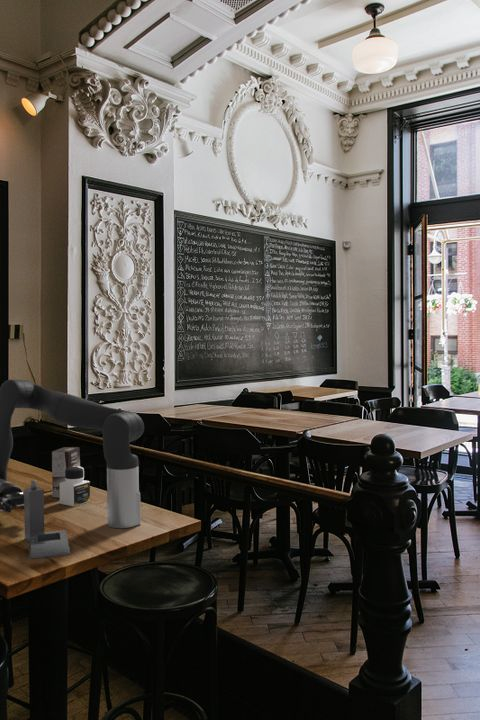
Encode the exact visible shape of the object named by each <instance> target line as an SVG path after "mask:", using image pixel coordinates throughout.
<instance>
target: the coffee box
mask: <svg viewBox="0 0 480 720" xmlns="http://www.w3.org/2000/svg"><path fill="white" fill-rule="evenodd" d="M80 451H81V449H80V447H78V446H75V447H74V446H72V447H71V446H70V447H68V446H65V447H61V448H58V449H55V450H53V451H51V469H52V471H51V474H52V476H51V479H52V489H51V490H52V493H51V494H52V495H51V497H52V498H60V483H61V482H65V481H66V480H65V470H66V469H67V468H69V467H74V466H79V467H81V459H80V458H81V457H80V456H81V454H80Z"/></svg>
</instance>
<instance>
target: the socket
mask: <svg viewBox="0 0 480 720" xmlns="http://www.w3.org/2000/svg"><path fill="white" fill-rule="evenodd" d="M68 539H69V538H68V534H67V530H66V529H64V530H63V529H62V530H55V531H54V530H53V531H45V532H42V533H33V534H31V543H29V544H28V559H29V560H33V559H41V558H50V557H51V558H52V557H58V556H65V555H66V556H68V555H71V549H70V544H69V540H68Z"/></svg>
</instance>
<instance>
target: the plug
mask: <svg viewBox="0 0 480 720" xmlns="http://www.w3.org/2000/svg"><path fill="white" fill-rule="evenodd" d="M23 493H24V506H23V509H24V511H23V512H24V513H23V514H24V540H26V541H27V542H28V543H29V544H31V534H33V533H42V532H46V531H45V495H44V494H45V489H44V488H42V487H40V486H37V479H32V480H30V487H27V488H23Z"/></svg>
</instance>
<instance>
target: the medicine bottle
mask: <svg viewBox="0 0 480 720" xmlns="http://www.w3.org/2000/svg"><path fill="white" fill-rule="evenodd" d="M84 478H85V469H84V467H82V466H80V467H79V466H74V467H69V468H67V469H66V470H65V480H66V481H65V482H61V483H60V497H59V504H61V505H64V506H67V507H68V506H69V507H79V506H80V505H85V504H86V503H89V502H91V484H90V483H91V481H89V480H84Z"/></svg>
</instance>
